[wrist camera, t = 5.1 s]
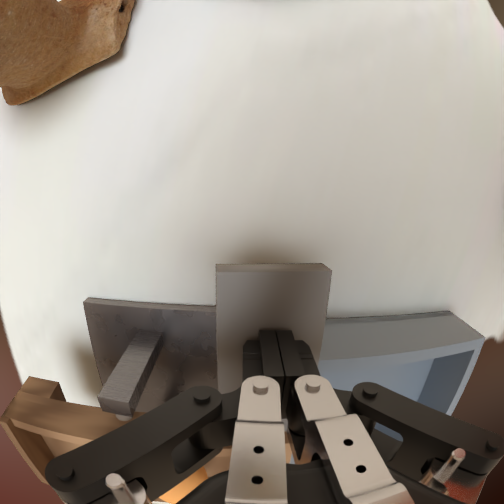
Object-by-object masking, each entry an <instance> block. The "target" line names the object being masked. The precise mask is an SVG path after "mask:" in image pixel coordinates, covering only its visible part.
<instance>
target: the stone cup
mask: <svg viewBox="0 0 504 504" xmlns="http://www.w3.org/2000/svg"><path fill="white" fill-rule="evenodd" d="M134 2H135V0H61V1H60V2H58V1H57V0H0V87H2V93H3V96H4V99H5V100H6V103H7V104H9V105H19V104H22V103H25V102H27V101H29V100H31V99H33V98H35V97H37V96H39V95H41V94H43V93H44V92H46V91H48V90H49V89H51V88H52V87H54V86H56V85H58V84H59V83H61V82H63V81H65V80H67V79H69V78H70V77H72V76H74V75H76V74H77V73H79V72H81V71H83V70H85V69H86V68H88V67H90V66H92V65H94V64H96V63H99V62H101V61H103V60H105V59H107V58H109V57H111V56H112V55H114V54H116V53H117V52H118V51H119V50H120V45H121V43H122V41H123V39H124V37H125V35H126V31H127V28H128V23H129V22H130V19H131V14H130V13H131V11H132V9H133V6H134Z"/></svg>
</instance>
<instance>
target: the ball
mask: <svg viewBox="0 0 504 504" xmlns="http://www.w3.org/2000/svg"><path fill="white" fill-rule="evenodd" d="M206 479H208V476H207V472H206V470H205V468H204V466H202V467H201V468H200V469H198V470H197V471H196V472H194V473H193V474H192V475H190V476H189V477H188V478H186V479H185V480H183V481H182V482H181V483H179V484H178V485H176V486H175V487H174V488H172V489H171V490H169V491H168V492H166V493H165V494H163V495H162V496H160V497H159V498H160V499H162V500H163V501H165V502H168V503H171V504H176V503H177V502H178V501H180V500H181V499H182V498H184V497H185V496H186V495H187V494H189V493H190V492H191V491H192V490H194V489H195V488H196V487H197V486H198V485H200V484H201V483H202V482H203V481H205V480H206Z"/></svg>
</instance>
